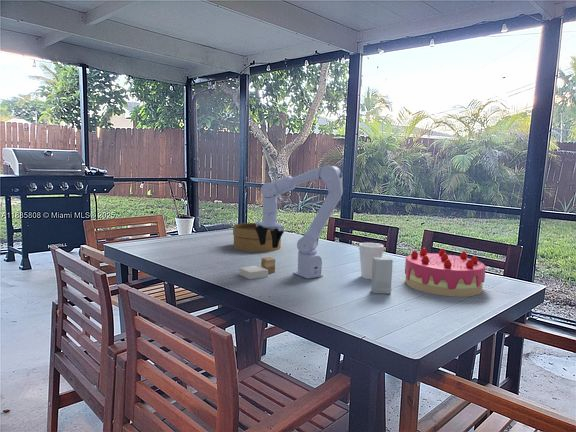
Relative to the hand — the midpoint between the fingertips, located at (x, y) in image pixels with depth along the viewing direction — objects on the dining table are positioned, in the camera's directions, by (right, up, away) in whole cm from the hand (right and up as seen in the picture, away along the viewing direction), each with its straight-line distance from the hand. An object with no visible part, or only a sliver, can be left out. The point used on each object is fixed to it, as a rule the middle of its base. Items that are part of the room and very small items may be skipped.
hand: (268, 246), depth 170 cm
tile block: (-6, -11, -8) cm, 15 cm away
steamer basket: (-8, -4, +47) cm, 48 cm away
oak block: (0, -10, -2) cm, 10 cm away
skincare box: (+40, -15, -23) cm, 49 cm away
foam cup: (+40, -12, -4) cm, 42 cm away
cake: (+66, -14, -11) cm, 69 cm away
